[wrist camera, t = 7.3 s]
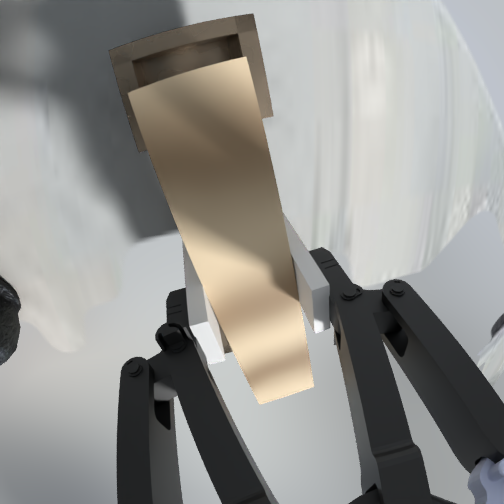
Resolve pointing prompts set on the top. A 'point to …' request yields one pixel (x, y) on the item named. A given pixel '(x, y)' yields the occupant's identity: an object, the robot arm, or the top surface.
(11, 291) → the figurine
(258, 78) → the bracket
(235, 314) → the rail
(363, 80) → the top surface
